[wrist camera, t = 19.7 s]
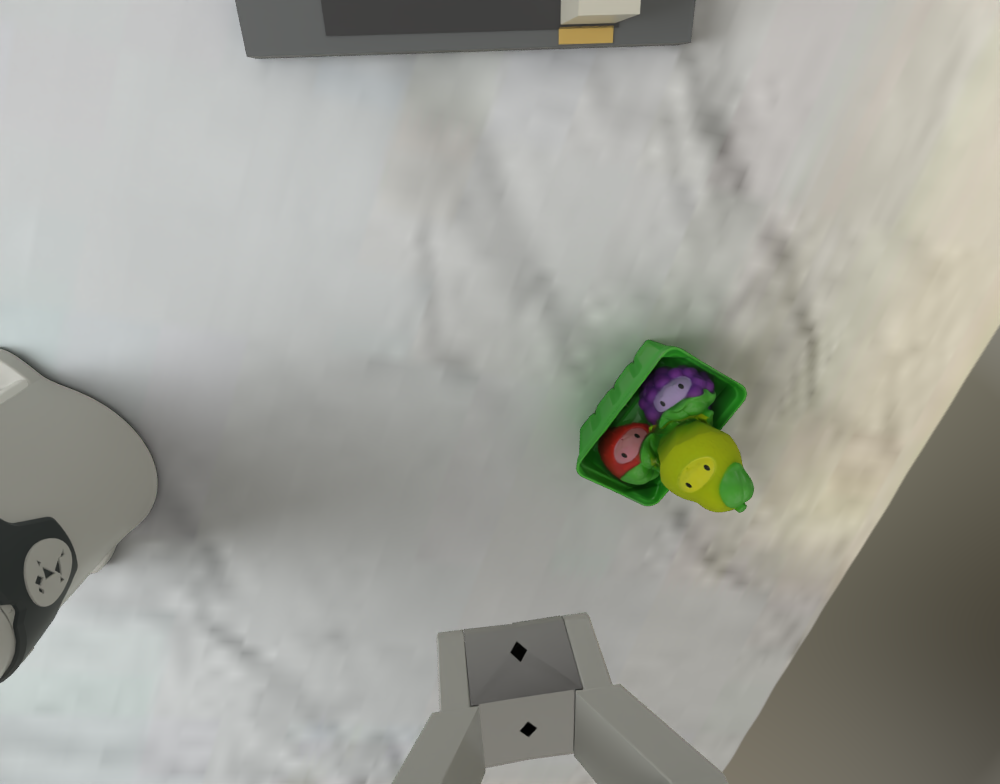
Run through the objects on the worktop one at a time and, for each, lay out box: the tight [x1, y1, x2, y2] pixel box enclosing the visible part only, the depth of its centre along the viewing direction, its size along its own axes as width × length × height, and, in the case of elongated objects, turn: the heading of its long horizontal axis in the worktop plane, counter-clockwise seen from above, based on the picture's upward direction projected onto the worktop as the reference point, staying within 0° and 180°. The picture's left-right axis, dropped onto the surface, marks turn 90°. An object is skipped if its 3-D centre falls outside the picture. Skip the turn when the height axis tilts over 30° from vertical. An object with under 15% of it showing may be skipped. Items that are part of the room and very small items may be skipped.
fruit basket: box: [576, 340, 754, 513], centre depth 40 cm, size 11×9×11 cm
